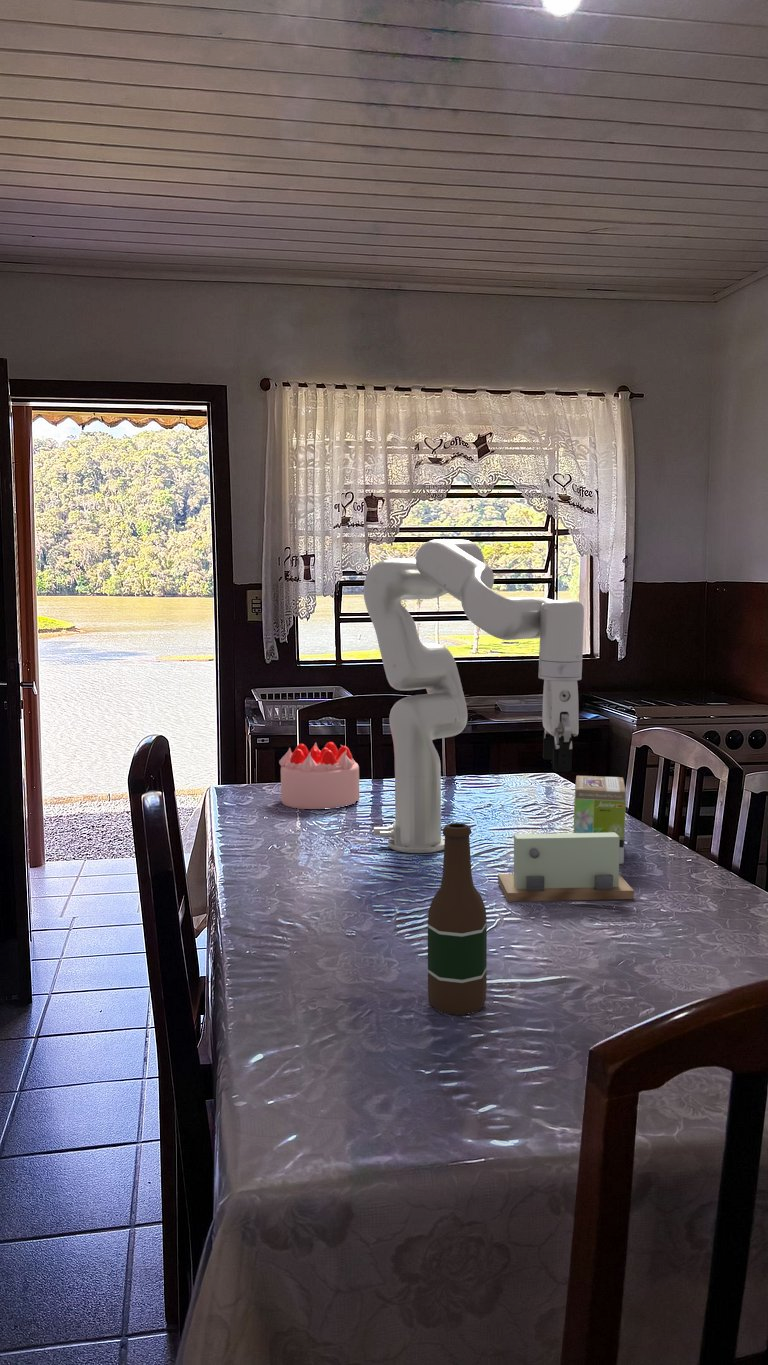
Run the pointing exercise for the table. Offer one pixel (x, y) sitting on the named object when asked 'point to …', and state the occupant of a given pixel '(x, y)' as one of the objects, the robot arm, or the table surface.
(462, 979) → the beer bottle
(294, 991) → the table surface
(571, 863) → the door
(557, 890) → the cabinet side
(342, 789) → the cake
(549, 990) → the table surface
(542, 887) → the hinge clips
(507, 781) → the table surface
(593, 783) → the tea box
